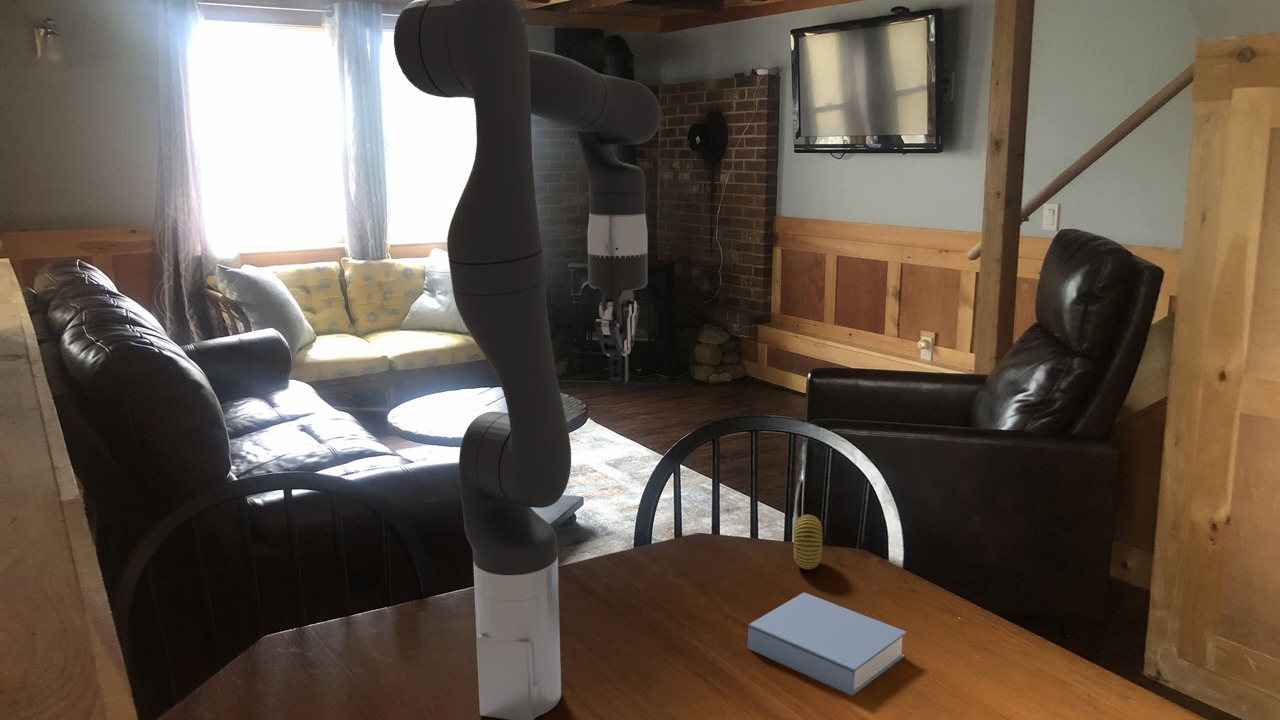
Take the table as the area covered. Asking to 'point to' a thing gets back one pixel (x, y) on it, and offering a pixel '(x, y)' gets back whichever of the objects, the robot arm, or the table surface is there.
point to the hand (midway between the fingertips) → (618, 382)
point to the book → (827, 642)
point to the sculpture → (807, 541)
